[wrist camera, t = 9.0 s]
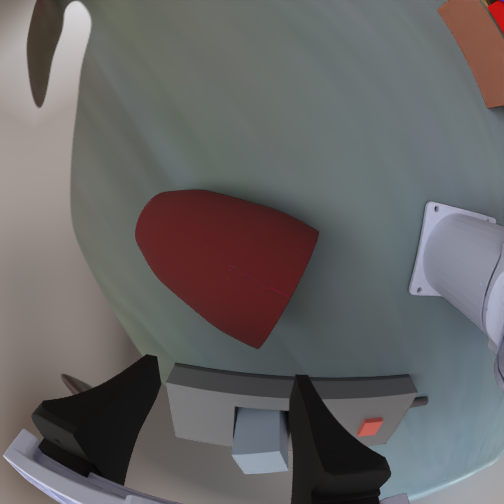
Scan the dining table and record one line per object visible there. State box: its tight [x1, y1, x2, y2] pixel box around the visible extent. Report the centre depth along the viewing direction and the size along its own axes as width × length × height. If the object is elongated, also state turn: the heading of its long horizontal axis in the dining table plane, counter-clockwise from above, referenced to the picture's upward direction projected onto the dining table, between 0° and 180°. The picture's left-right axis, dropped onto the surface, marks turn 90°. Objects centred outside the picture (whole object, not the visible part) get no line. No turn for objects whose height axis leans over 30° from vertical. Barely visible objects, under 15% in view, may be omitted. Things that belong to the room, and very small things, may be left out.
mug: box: [135, 190, 319, 349], centre depth 18 cm, size 10×8×10 cm
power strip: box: [166, 363, 428, 451], centre depth 23 cm, size 29×9×4 cm, turn 85°
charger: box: [231, 407, 288, 474], centre depth 21 cm, size 4×4×7 cm
